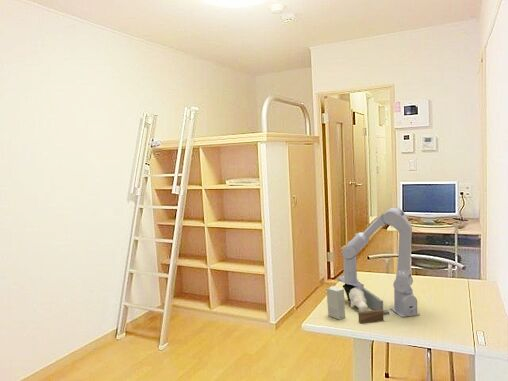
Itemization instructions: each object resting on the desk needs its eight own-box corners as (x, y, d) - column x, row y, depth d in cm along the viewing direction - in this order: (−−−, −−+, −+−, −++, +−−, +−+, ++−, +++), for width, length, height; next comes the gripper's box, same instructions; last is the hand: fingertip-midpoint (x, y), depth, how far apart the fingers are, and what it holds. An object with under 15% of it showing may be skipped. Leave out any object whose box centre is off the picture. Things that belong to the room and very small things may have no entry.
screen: (389, 314, 166) (389, 300, 166) (380, 315, 165) (379, 301, 165) (365, 296, 188) (365, 283, 187) (356, 297, 187) (356, 284, 186)
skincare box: (345, 317, 165) (345, 288, 164) (338, 320, 162) (338, 291, 161) (333, 312, 170) (333, 285, 169) (326, 315, 167) (326, 287, 166)
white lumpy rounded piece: (361, 285, 177) (372, 297, 166) (361, 302, 179) (372, 316, 167) (348, 286, 177) (358, 298, 165) (347, 304, 178) (357, 317, 166)
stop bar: (383, 320, 160) (383, 310, 160) (360, 323, 158) (360, 313, 158) (381, 318, 162) (381, 309, 161) (358, 321, 160) (358, 312, 160)
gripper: (368, 273, 174) (369, 303, 176) (345, 265, 187) (346, 294, 188) (356, 276, 171) (357, 306, 172) (334, 268, 183) (334, 297, 185)
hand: (350, 300), depth 180 cm, fingers closed
